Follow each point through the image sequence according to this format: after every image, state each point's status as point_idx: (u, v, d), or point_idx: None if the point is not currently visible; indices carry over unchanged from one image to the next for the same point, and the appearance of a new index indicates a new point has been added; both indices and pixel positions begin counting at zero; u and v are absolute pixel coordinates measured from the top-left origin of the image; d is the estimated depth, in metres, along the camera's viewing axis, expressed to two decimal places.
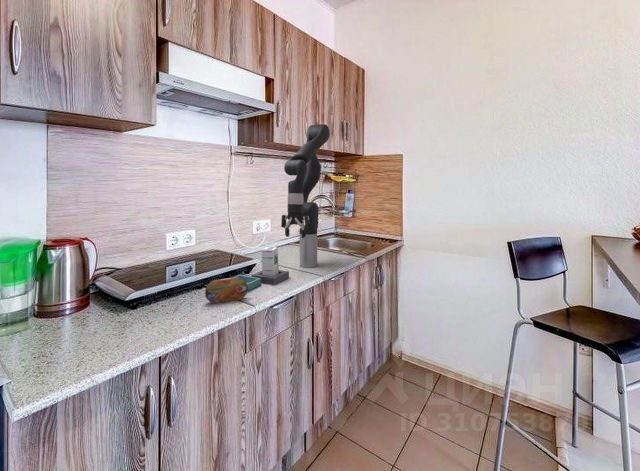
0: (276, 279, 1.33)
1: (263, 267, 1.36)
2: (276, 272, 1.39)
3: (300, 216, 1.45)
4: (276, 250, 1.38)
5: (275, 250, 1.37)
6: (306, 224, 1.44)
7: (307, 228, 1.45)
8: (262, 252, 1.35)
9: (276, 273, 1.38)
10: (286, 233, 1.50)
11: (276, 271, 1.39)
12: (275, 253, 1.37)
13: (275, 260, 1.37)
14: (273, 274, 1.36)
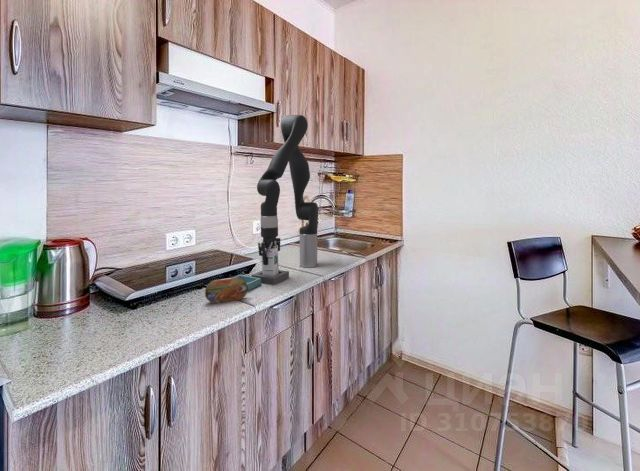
0: (276, 279, 1.33)
1: (263, 267, 1.36)
2: (276, 272, 1.39)
3: (275, 238, 1.39)
4: (276, 250, 1.38)
5: (275, 250, 1.37)
6: (279, 246, 1.42)
7: None
8: None
9: (276, 273, 1.38)
10: (267, 261, 1.35)
11: (276, 271, 1.39)
12: (275, 253, 1.37)
13: (275, 260, 1.37)
14: (273, 274, 1.36)
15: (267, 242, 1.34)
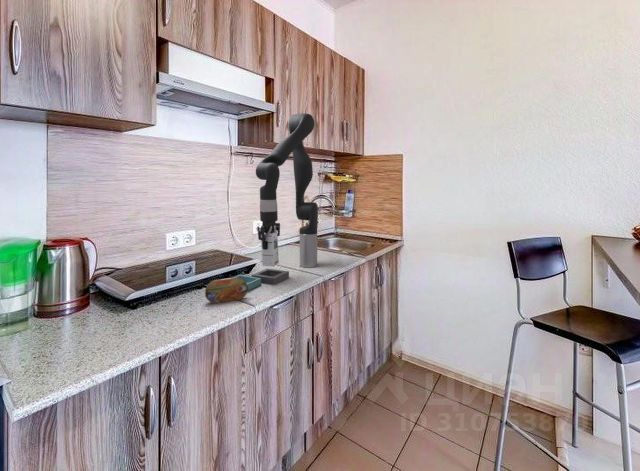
0: (276, 279, 1.33)
1: (263, 252, 1.36)
2: (276, 257, 1.38)
3: (275, 223, 1.38)
4: (276, 235, 1.37)
5: (275, 235, 1.36)
6: (279, 231, 1.41)
7: None
8: None
9: (276, 258, 1.38)
10: (267, 245, 1.34)
11: (276, 256, 1.38)
12: (275, 238, 1.36)
13: (275, 245, 1.36)
14: (273, 259, 1.35)
15: (266, 226, 1.33)
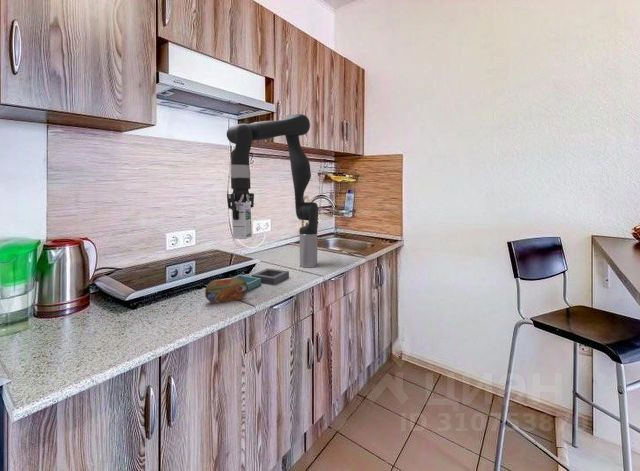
0: (276, 279, 1.33)
1: (233, 223, 1.23)
2: (249, 230, 1.26)
3: (248, 192, 1.26)
4: (248, 205, 1.25)
5: (247, 204, 1.24)
6: (252, 202, 1.29)
7: (252, 206, 1.30)
8: None
9: (248, 230, 1.25)
10: (238, 215, 1.22)
11: (248, 228, 1.25)
12: (247, 208, 1.24)
13: (247, 215, 1.24)
14: (244, 230, 1.23)
15: (237, 194, 1.21)
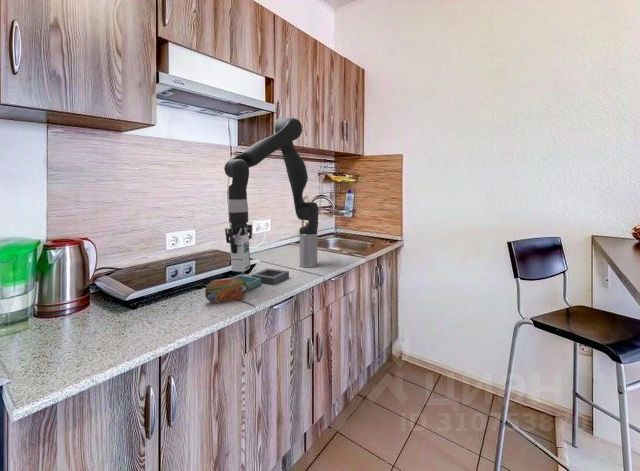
0: (276, 279, 1.33)
1: (232, 256, 1.25)
2: (247, 262, 1.28)
3: (246, 225, 1.28)
4: (246, 237, 1.27)
5: (245, 237, 1.25)
6: (251, 233, 1.31)
7: None
8: None
9: (247, 262, 1.27)
10: (236, 249, 1.23)
11: (247, 260, 1.27)
12: (245, 241, 1.26)
13: (245, 248, 1.25)
14: (243, 263, 1.25)
15: (235, 228, 1.22)
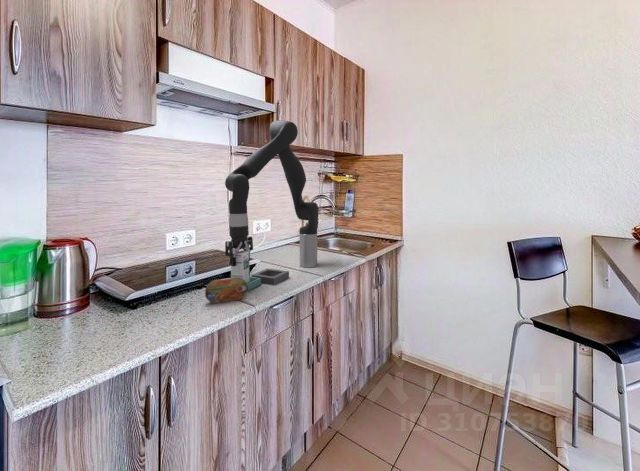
0: (276, 279, 1.33)
1: (232, 272, 1.26)
2: (247, 278, 1.28)
3: (246, 238, 1.29)
4: (247, 254, 1.28)
5: (245, 254, 1.26)
6: (252, 245, 1.32)
7: (252, 249, 1.33)
8: None
9: (247, 279, 1.28)
10: (235, 262, 1.23)
11: (247, 277, 1.28)
12: (245, 257, 1.27)
13: (245, 265, 1.26)
14: None
15: (236, 241, 1.23)
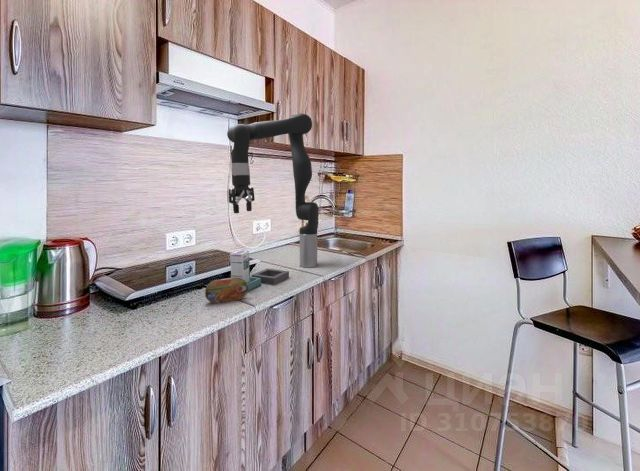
0: (276, 279, 1.33)
1: (232, 272, 1.26)
2: (247, 278, 1.28)
3: (248, 188, 1.36)
4: (247, 254, 1.28)
5: (245, 254, 1.26)
6: (253, 196, 1.39)
7: (253, 200, 1.40)
8: (231, 256, 1.25)
9: (247, 279, 1.28)
10: (238, 209, 1.30)
11: (247, 277, 1.28)
12: (245, 257, 1.27)
13: (245, 265, 1.26)
14: None
15: (238, 189, 1.30)
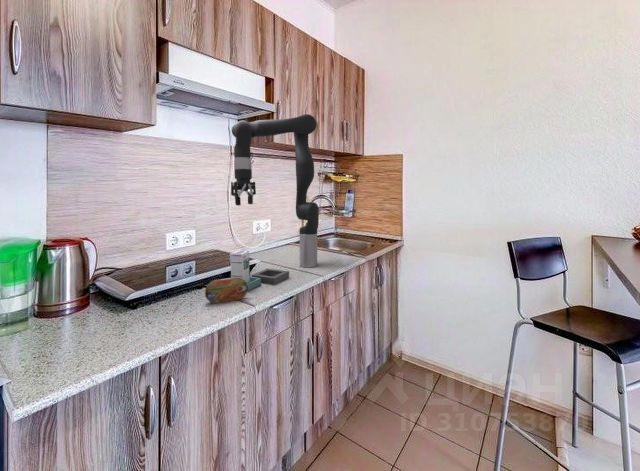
0: (276, 279, 1.33)
1: (232, 272, 1.26)
2: (247, 278, 1.28)
3: (250, 182, 1.42)
4: (247, 254, 1.28)
5: (245, 254, 1.26)
6: (254, 190, 1.46)
7: None
8: (231, 256, 1.25)
9: (247, 279, 1.28)
10: (240, 201, 1.37)
11: (247, 277, 1.28)
12: (245, 257, 1.27)
13: (245, 265, 1.26)
14: None
15: (240, 183, 1.36)
